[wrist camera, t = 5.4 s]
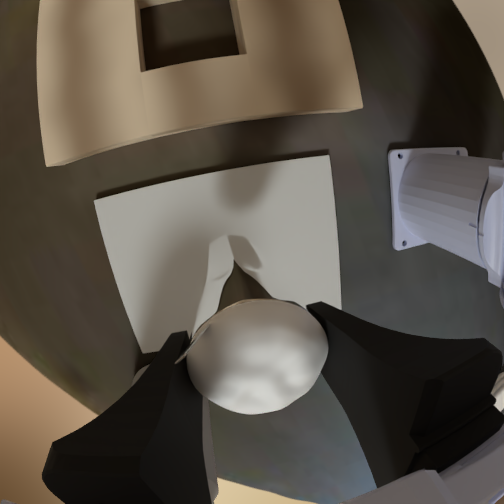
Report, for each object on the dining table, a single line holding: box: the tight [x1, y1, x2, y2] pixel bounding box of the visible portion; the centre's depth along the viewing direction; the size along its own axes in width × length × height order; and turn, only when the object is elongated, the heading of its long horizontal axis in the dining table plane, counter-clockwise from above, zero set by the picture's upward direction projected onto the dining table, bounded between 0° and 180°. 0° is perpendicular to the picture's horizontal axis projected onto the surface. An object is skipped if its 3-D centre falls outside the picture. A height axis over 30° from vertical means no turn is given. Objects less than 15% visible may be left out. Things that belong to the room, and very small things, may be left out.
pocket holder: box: [37, 0, 363, 167], centre depth 15 cm, size 20×14×2 cm
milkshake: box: [175, 234, 328, 414], centre depth 12 cm, size 4×5×10 cm
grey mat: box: [94, 155, 341, 353], centre depth 21 cm, size 16×12×1 cm
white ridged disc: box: [491, 372, 504, 412], centre depth 35 cm, size 10×10×4 cm
